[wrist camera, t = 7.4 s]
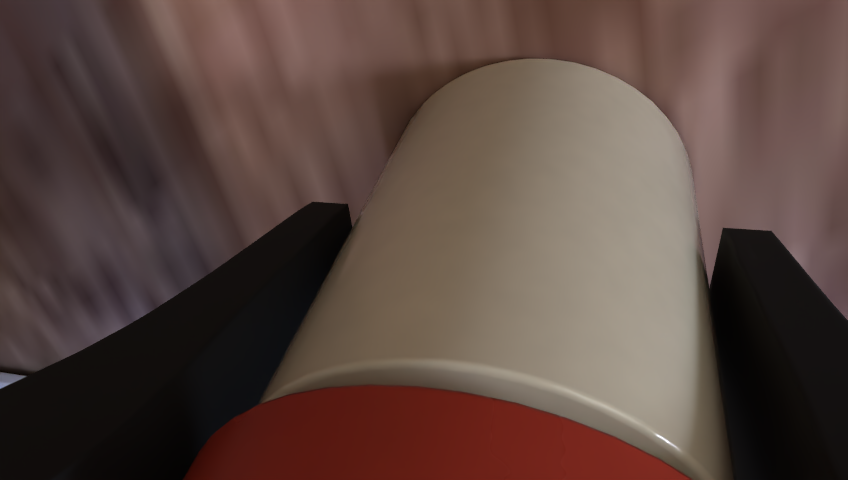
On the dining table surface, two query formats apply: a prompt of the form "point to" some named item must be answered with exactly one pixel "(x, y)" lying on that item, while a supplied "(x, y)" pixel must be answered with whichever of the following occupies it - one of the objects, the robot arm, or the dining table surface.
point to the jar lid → (414, 440)
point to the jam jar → (532, 265)
